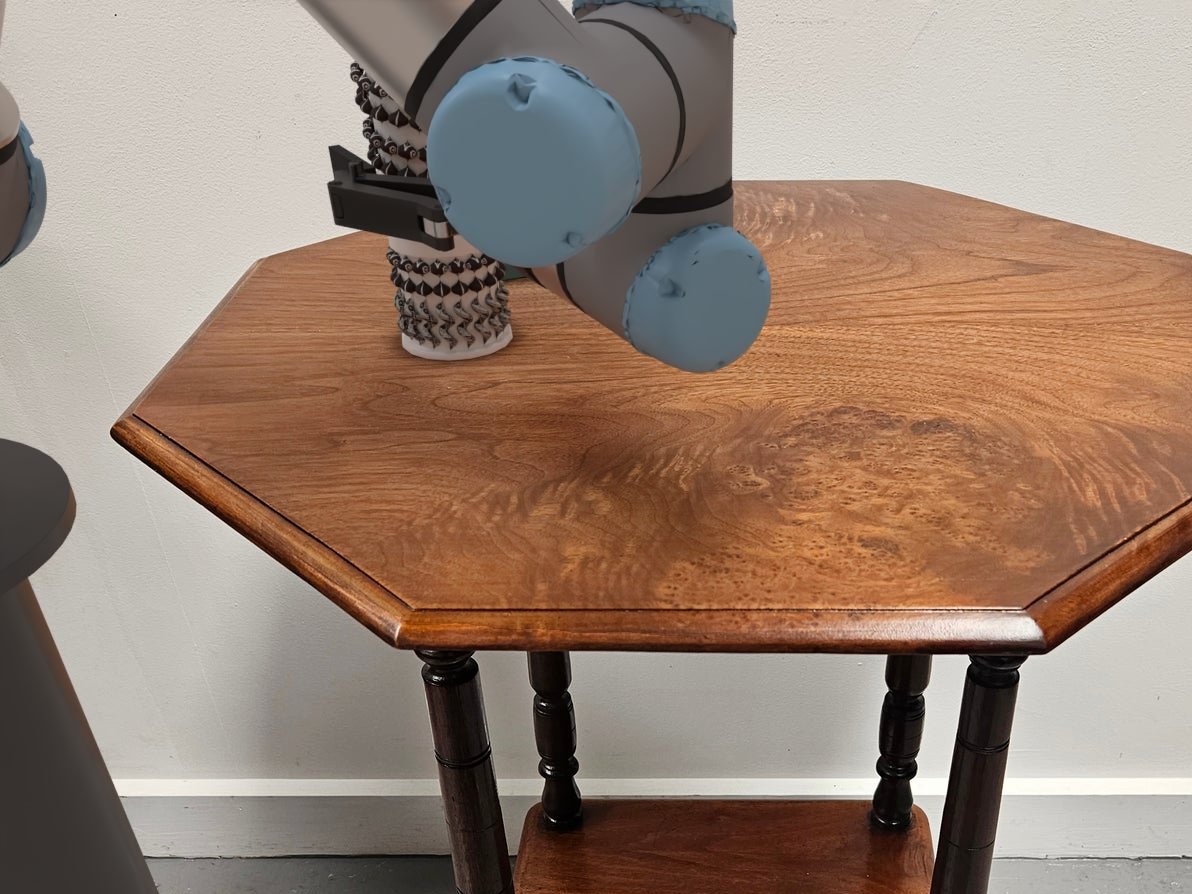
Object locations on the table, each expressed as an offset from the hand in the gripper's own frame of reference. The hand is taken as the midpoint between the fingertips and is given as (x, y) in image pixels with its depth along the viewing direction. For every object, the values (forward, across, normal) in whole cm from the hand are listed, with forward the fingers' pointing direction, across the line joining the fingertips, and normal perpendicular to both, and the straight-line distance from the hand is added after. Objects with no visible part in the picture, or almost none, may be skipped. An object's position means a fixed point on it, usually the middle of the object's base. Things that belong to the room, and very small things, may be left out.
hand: (430, 151), depth 88 cm
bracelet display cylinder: (0, 0, -14) cm, 14 cm away
